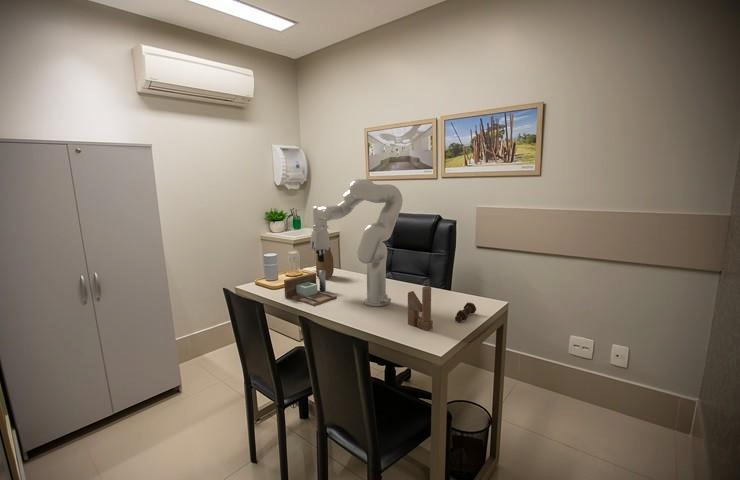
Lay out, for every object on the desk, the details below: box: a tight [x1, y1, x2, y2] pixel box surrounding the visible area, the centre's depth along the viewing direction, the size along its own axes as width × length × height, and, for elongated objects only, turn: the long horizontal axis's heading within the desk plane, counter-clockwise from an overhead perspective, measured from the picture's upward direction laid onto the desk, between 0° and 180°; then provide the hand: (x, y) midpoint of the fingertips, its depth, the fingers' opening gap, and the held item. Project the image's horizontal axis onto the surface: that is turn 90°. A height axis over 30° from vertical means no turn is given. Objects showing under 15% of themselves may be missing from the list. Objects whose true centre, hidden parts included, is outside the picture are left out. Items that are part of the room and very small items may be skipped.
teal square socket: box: [296, 282, 319, 297], centre depth 194 cm, size 8×8×5 cm
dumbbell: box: [454, 302, 477, 323], centre depth 160 cm, size 6×5×15 cm
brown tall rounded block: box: [315, 246, 335, 280], centre depth 231 cm, size 11×8×20 cm
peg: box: [318, 270, 327, 293], centre depth 201 cm, size 3×3×12 cm
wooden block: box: [407, 285, 434, 332], centre depth 150 cm, size 4×11×18 cm, turn 44°
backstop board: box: [283, 272, 338, 307], centre depth 191 cm, size 24×20×10 cm
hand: (320, 261), depth 198 cm, fingers closed
